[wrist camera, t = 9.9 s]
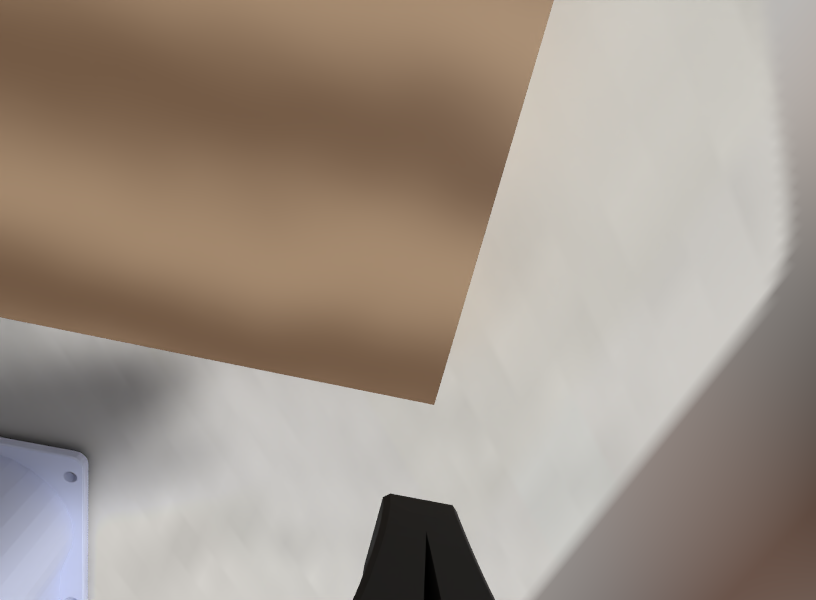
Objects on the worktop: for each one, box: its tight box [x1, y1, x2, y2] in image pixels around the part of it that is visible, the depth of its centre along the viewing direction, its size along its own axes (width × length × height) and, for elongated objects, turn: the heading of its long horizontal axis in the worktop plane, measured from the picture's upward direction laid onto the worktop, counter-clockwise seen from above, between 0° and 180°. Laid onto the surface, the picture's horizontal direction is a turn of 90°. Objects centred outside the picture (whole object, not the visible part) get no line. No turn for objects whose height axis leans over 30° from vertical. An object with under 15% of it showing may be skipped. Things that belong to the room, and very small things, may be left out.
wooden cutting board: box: [0, 0, 554, 405], centre depth 15 cm, size 14×14×3 cm
